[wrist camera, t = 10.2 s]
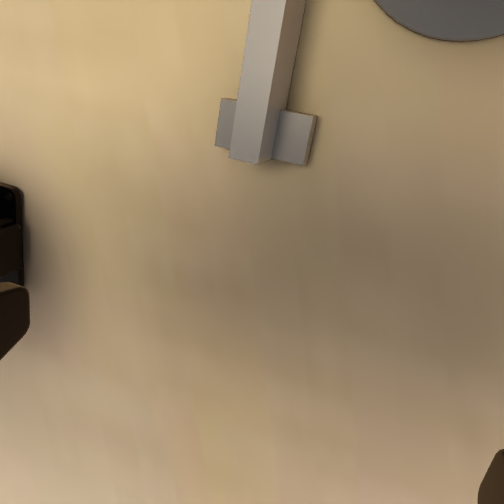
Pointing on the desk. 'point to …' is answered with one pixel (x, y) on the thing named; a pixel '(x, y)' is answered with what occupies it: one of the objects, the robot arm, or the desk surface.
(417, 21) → the pad
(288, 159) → the low wall
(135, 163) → the desk surface
